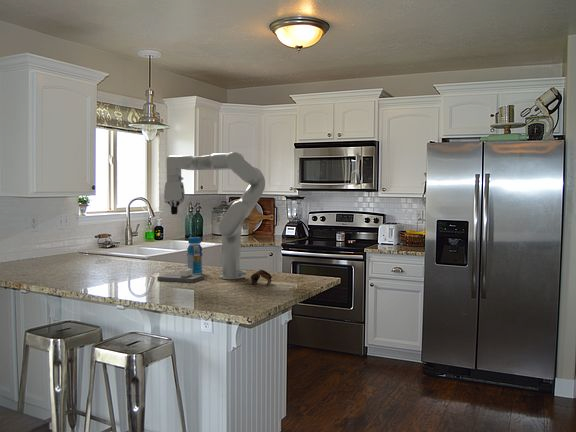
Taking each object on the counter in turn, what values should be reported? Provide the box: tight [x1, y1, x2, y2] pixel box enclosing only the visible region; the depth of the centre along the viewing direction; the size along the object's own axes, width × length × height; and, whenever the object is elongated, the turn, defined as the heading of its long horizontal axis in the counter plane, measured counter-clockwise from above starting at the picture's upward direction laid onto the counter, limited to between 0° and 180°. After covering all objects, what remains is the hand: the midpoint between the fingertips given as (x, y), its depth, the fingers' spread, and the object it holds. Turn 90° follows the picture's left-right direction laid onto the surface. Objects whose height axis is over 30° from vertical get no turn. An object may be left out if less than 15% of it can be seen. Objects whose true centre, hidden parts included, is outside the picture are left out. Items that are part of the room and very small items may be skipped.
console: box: [157, 272, 205, 284], centre depth 266 cm, size 20×12×2 cm, turn 72°
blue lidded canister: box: [186, 236, 204, 275], centre depth 285 cm, size 8×8×20 cm
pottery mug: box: [250, 269, 273, 286], centre depth 253 cm, size 12×10×8 cm
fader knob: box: [179, 267, 192, 277], centre depth 265 cm, size 4×6×4 cm, turn 162°
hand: (174, 214), depth 275 cm, fingers closed
